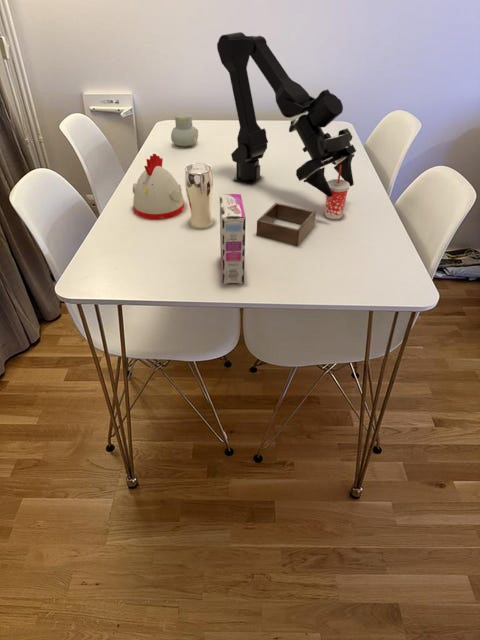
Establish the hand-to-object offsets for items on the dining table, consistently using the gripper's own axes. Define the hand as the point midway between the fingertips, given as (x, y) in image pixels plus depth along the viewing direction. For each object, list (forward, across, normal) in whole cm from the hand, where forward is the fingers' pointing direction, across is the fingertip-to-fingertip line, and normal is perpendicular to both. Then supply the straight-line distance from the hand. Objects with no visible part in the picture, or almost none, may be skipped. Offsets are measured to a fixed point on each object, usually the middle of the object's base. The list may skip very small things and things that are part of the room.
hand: (341, 190), depth 120 cm
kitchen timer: (-22, -32, +32) cm, 50 cm away
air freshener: (-46, +6, +57) cm, 73 cm away
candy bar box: (+5, -38, +6) cm, 39 cm away
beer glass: (-11, -29, +22) cm, 38 cm away
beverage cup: (+4, 0, +6) cm, 8 cm away
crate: (+2, -16, +9) cm, 18 cm away
